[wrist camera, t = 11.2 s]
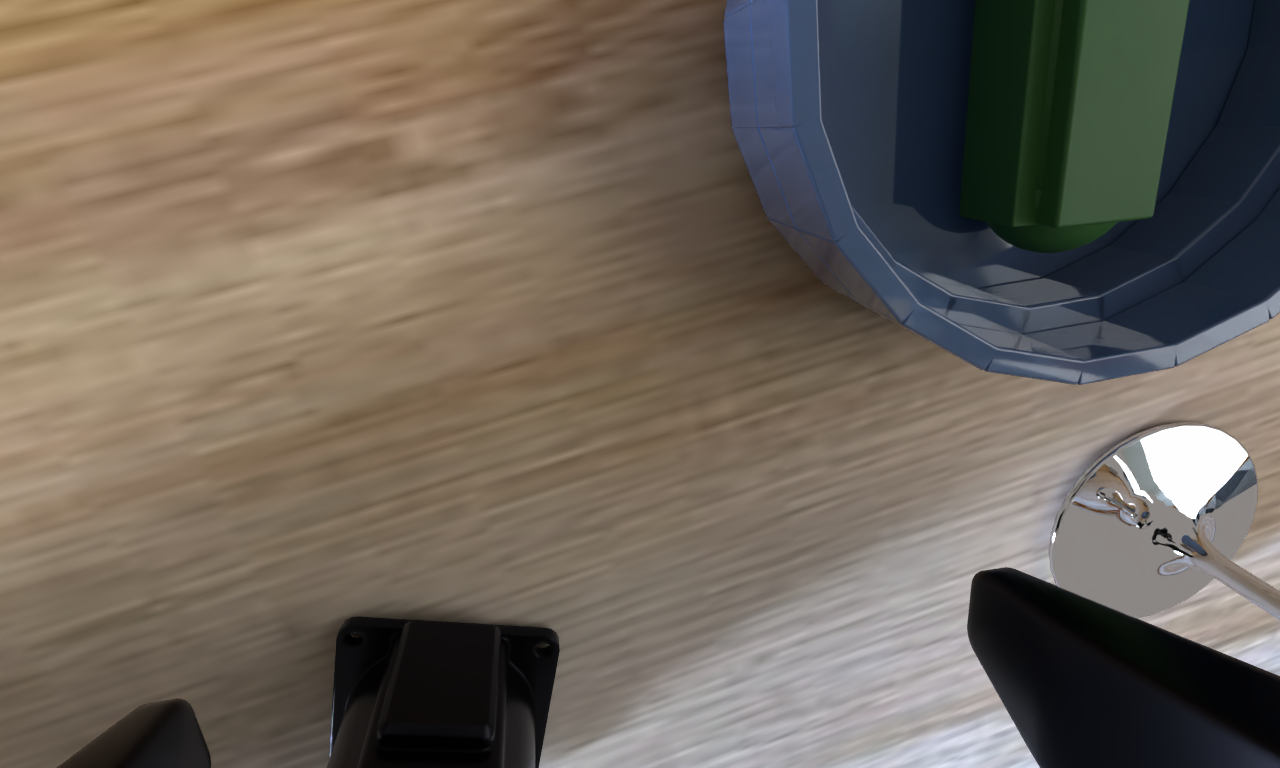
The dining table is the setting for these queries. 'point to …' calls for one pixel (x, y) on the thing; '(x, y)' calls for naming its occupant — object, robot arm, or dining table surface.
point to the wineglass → (1160, 522)
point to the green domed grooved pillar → (1068, 116)
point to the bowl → (969, 249)
